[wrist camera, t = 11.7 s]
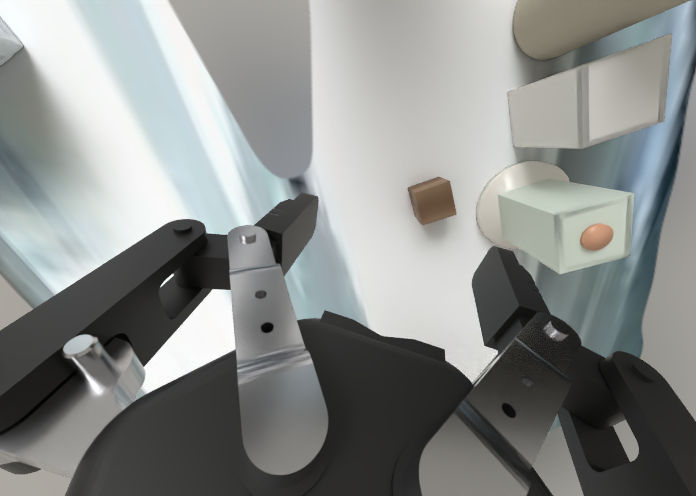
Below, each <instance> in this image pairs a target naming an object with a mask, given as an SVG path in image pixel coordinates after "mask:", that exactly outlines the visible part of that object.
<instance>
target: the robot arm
mask: <svg viewBox="0 0 696 496" xmlns="http://www.w3.org/2000/svg"><path fill="white" fill-rule="evenodd" d="M317 210H318V196H314V195H311V194H307V193H304V192H302V193H301V194H300V195H299V196H298V197H297V198H295V199H294V200H291V199H288V200H286V201H283V202H280V203H279V204H278V205H277V206H276V207H274V209H272V210H271V211H270V212H269V213H268V214H266V215H265V216H264V217H263V218H262V219H261V220H260V221H259V222H257V223H256V224H255V225H254V226H252V225H245V226H239V227H236V228H234V229H232V230H231V231H230V232H229V233H228V235H219V234H207V233H206V229H205V225H204V224H203V223H201V222H199V221H197V220H191V219H182V220H176V221H172V222H169V223H167V224H165V225H164V226H162V227H161V228H159V229H158V230H156V231H154V232H153V233H151V234H150V235H148V236H147V237H145V238H144V239H142V240H140V241H139V242H137V243H136V244H134V245H133V246H131V247H130V248H128V249H126V250H125V251H123V252H122V253H120V254H119V255H117V256H116V257H114V258H112V259H111V260H109V261H108V262H106V263H105V264H103V265H102V266H100V267H98V268H97V269H95V270H94V271H92V272H91V273H89V274H88V275H86V276H84V277H83V278H81V279H80V280H78V281H77V282H75V283H74V284H72V285H71V286H69V287H67V288H66V289H64V290H63V291H61V292H60V293H58V294H57V295H55V296H53V297H52V298H50V299H49V300H47V301H46V302H44V303H43V304H41V305H39V306H38V307H36V308H35V309H33V310H32V311H30V312H29V313H27V314H25V315H24V316H22V317H21V318H19V319H18V320H16V321H15V322H13V323H11V324H10V325H8V326H7V327H5V328H4V329H2V330H1V331H0V468H2V469H4V470H7V471H9V472H11V473H14V474H28V473H32V472H36V471H38V470H41V469H43V470H46V471H49V472H52V473H55V474H59V475H62V476H65V477H68V478H71V479H72V480H71V482H70V485H69V487H68V490H67V492H66V494H65V496H553V495H552V493H551V492H550V491H549V489H548V488H547V486H546V485H545V484H544V482H543V481H542V480H541V478H540V477H539V475H538V474H537V473H536V471H535V470H534V468H533V467H532V465H533V463H534V461H535V459H536V457H537V455H538V453H539V451H540V449H541V447H542V445H543V443H544V441H545V438H546V436H547V434H548V432H549V430H550V428H551V426H552V424H553V422H554V420H555V418H556V416H557V414H558V417H559V420H560V423H561V427H562V430H563V433H564V436H565V439H566V442H567V445H568V448H569V451H570V454H571V456H572V460H573V463H574V466H575V469H576V472H577V476H578V478H579V482H580V485H581V488H582V491H583V494H584V496H696V421H695V420H694V419H693V417H692V416H691V414H690V413H689V412H688V410H687V409H686V407H685V406H684V405H683V403H682V402H681V400H680V399H679V398H678V396H677V395H676V394H675V392H674V391H673V389H672V388H671V387H670V385H669V384H668V382H667V381H666V380H665V379H664V378H663V377H662V375H661V374H660V373H658V372H657V371H656V370H655V369H654V368H652V367H651V366H650V365H649V364H647V363H646V362H644V361H643V360H641V359H639V358H638V357H636V356H634V355H632V354H629V353H626V352H622V351H617V352H614V353H613V354H611V355H610V356H608V357H607V358H604V357H602V356H601V355H599V354H597V353H595V352H593V351H591V350H589V349H587V348H585V347H583V346H581V345H582V342H581V339H580V337H579V335H578V334H577V333H576V332H575V330H574V329H573V328H572V327H571V326H569V325H568V324H567V323H566V322H564V321H563V320H561V319H559V318H557V317H556V316H553V315H551V314H550V312H549V310H548V308H547V306H546V304H545V302H544V300H543V298H542V296H541V294H540V293H538V292H539V290H538V288H537V286H536V285H535V282H534V280H533V279H532V277H531V275H530V274H529V273H528V272H527V271H526V270H525V269H524V268H523V266H521V265H519V263H518V261H517V259H516V256H515V254H514V252H513V251H510V250H506V249H503V248H499V247H495V246H493V247H492V248H490V250H489V251H488V253H487V254H486V256H485V257H484V259H483V261H482V262H481V264H480V265H479V267H478V268H477V270H476V272H475V273H474V276H473V279H472V288H473V293H474V298H475V303H476V307H477V312H478V317H479V322H480V327H481V332H482V336H483V341H484V346H487V347H490V348H493V349H496V350H498V354H497V355H496V356H495V357H494V359H493V360H492V361H491V362H490V363H489V364H488V365H487V366H486V368H485V369H484V370H483V371H482V372H481V373H480V374H479V376H478V377H477V378H476V379H475V380H474V381H473V382H472V383H471V381H470V380H469V379H468V378H467V377H466V376H465V375H464V374H463V373H462V372H461V371H459V370H458V369H457V368H456V367H454V366H453V365H451V364H450V363H449V362H447V361H445V349H442V348H439V347H436V346H432V345H429V344H426V343H423V342H420V341H417V340H414V339H404V338H394V337H384V336H381V335H379V334H377V333H375V332H374V331H372V330H370V329H368V328H367V327H365V326H363V325H362V324H360V323H358V322H356V321H355V320H353V319H350V318H347V317H344V316H341V315H338V314H335V313H331V312H328V311H324V313H323V315H322V318H321V319H317V318H313V319H302V320H297V319H296V316H295V312H294V309H293V306H292V302H291V299H290V296H289V292H288V289H287V286H286V282H285V279H284V276H285V274H286V273H287V272H288V270H289V269H290V267H291V266H292V265H293V263H294V262H295V260H296V259H297V257H298V256H299V255H300V253H301V252H302V250H303V249H304V247H305V246H306V245H307V243H308V242H309V240H310V239H311V237H312V236H313V233H314V231H315V227H316V219H317ZM171 274H174V276H173V277H172V278H171V279H170V280H169V281H167V282H166V283H165V284H164V285H163V286H162V287H161V288H160V286H161V284H162V283H163V282H164V281H165V280H166V279H167V278H168V277H169V276H170V275H171ZM212 289H225V290H231V297H232V309H233V321H234V333H235V345H236V350H234V351H232V352H230V353H228V354H226V355H224V356H222V357H220V358H218V359H216V360H214V361H212V362H210V363H208V364H206V365H204V366H202V367H200V368H198V369H196V370H194V371H192V372H190V373H188V374H186V375H184V376H182V377H180V378H178V379H176V380H174V381H172V382H170V383H168V384H166V385H164V386H162V387H160V388H158V389H156V390H154V391H152V392H150V393H148V394H146V395H144V396H142V397H141V398H139V399H137V400H136V401H134V400H135V398H136V394H137V393H138V391H139V390H140V388H141V387H142V385H143V383H144V380H145V370H144V366H145V365H146V364H147V363H148V362H149V360H150V359H151V358H152V357H153V356H154V355H155V354H156V353H157V351H158V350H159V349H160V348H161V347H162V346H163V345H164V344H165V342H166V341H167V340H168V339H169V338H170V337H171V336H172V334H173V333H174V332H175V331H176V330H177V329H178V328H179V327H180V325H181V324H182V323H183V322H184V321H185V320H186V319H187V318H188V316H189V315H190V314H191V313H192V312H193V311H194V310H195V309H196V307H197V306H198V305H199V304H200V303H201V302H202V301H203V299H204V298H205V297H206V296H207V295H208V294H209V293H210V292H211V290H212ZM133 401H134V402H133ZM625 419H626V421H627V423H628V424H629V426H630V428H631V430H632V432H633V434H634V436H635V438H636V440H637V442H638V445H639V454H638V457H637V458H636V459H635V460H634V461H632V462H630V461H629V459H628V457H627V455H626V453H625V451H624V449H623V447H622V444H621V442H620V440H619V438H618V436H617V434H616V432H615V430H614V427H613V425H615V424H617V423H619V422H621V421H623V420H625Z"/></svg>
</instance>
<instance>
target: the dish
mask: <svg viewBox="0 0 696 496" xmlns="http://www.w3.org/2000/svg"><path fill="white" fill-rule="evenodd" d="M549 178H551V179H556V180H562V181H567V182H570V180H569V178H568V176H567V175H566V173H565V172H564V171H563V170H562V169H560V168H559V167H557V166H555V165H553V164H550V163H547V162H539V161H525V162H520V163H516V164H513V165H511V166H509V167H507V168H505V169H503V170H502V171H500V172H499V173H497V174H496V175H495V176H494V177H493V178H492V179H491V180H490V181H489V182H488V183H487V185H486V186H485V187H484V189H483V191H482V192H481V195H480V197H479V199H478V203H477V208H476V219H477V223H478V226H479V228H480V230H481V232H482V233H483V234H484V235H485V236H486V237H487V238H488V239H489V240H491V241H492V242H494V243H495V244H497V245H499V246H501V247H505V248H510V249H519V248H518V247H516V246H515V245H513V244H512V243H510V242H508V241H507V240H505V239H504V238H503V233H502V225H501V217H500V209H499V201H498V194H501V193H504V192H507V191H510V190H514V189H517V188H520V187H523V186H526V185H530V184H533V183H536V182H539V181H542V180H546V179H549Z"/></svg>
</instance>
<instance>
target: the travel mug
mask: <svg viewBox="0 0 696 496" xmlns="http://www.w3.org/2000/svg"><path fill="white" fill-rule="evenodd" d="M688 1H690V0H518V1H517V4H516V7H515V12H514V19H513V28H514V35H515V38H516V41H517V43H518V45H519V47H520V48H521V50H522V51H523V52H524V53H525V54H527V55H528V56H530V57H532V58H535V59H539V60H547V59H552V58H556V57H558V56H561V55H563V54H566V53H568V52H570V51H573V50H575V49H577V48H580V47H582V46H584V45H587V44H589V43H591V42H594V41H596V40H598V39H601V38H603V37H605V36H608V35H610V34H612V33H615V32H617V31H620V30H622V29H624V28H627V27H629V26H631V25H634V24H636V23H638V22H641V21H643V20H645V19H648V18H650V17H652V16H655V15H657V14H659V13H662V12H664V11H666V10H669V9H671V8H673V7H676V6H678V5H681V4H683V3H685V2H688Z"/></svg>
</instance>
